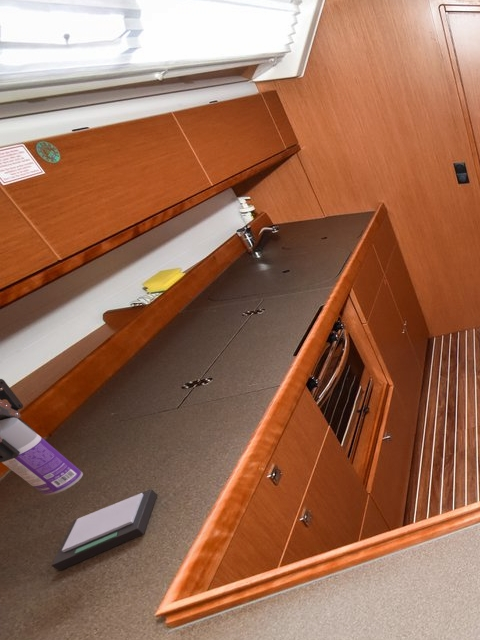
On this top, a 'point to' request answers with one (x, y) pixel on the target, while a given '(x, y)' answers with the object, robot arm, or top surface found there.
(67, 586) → the top surface
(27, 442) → the container
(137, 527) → the scale
